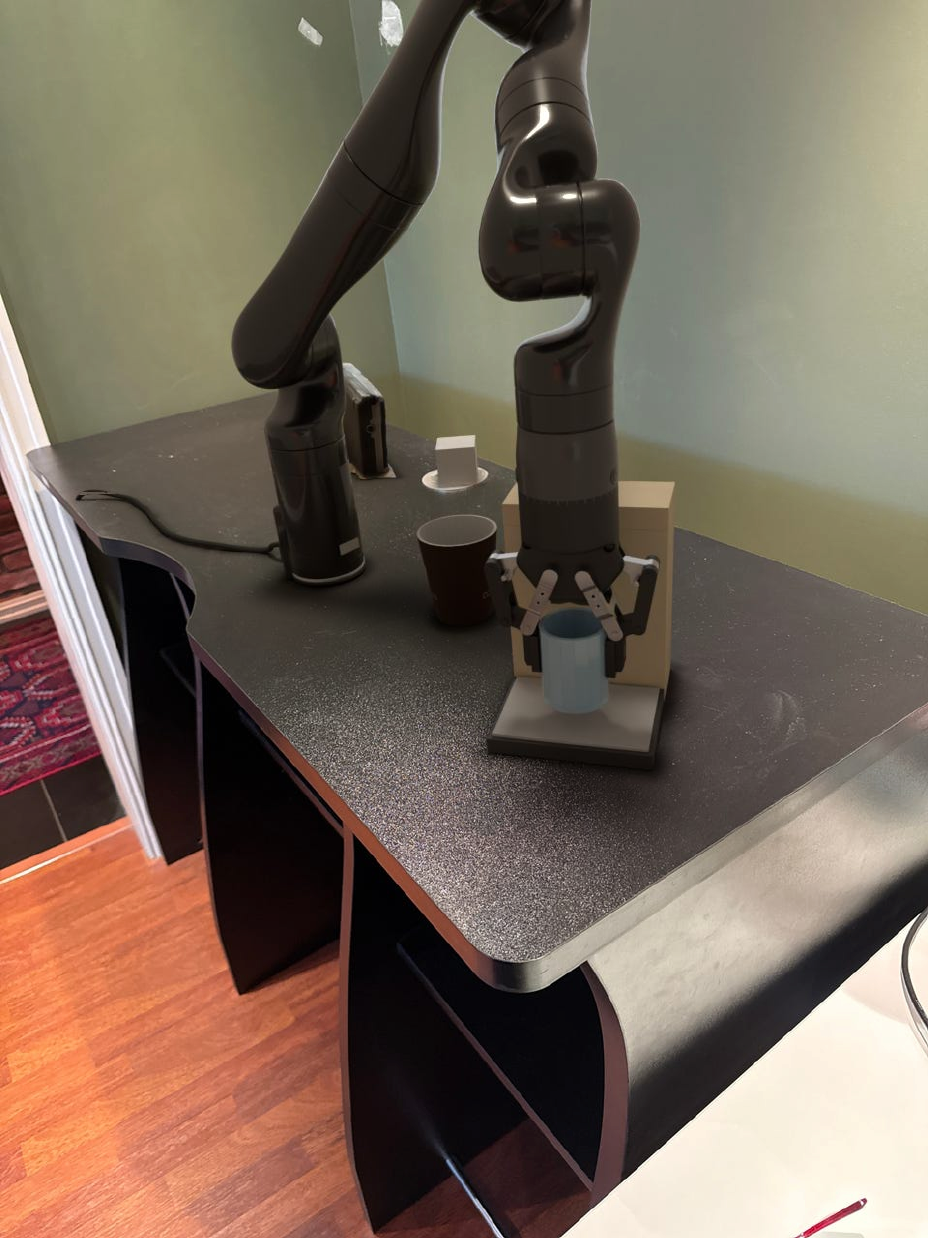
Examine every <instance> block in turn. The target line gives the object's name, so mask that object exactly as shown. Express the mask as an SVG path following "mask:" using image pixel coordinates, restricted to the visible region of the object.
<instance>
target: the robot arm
mask: <svg viewBox="0 0 928 1238" xmlns="http://www.w3.org/2000/svg"><path fill="white" fill-rule="evenodd" d="M592 5H593V0H419V3H418V4H417V7H416V9H415V11H414V13H413V15H412V17H411V19H410V21H409V23H408V26H407V27H406V30H405V32H404V34H403V35H402V37H401V40H400V42H399V43H398V46H397V47H396V50H395V52H394V53H393V56H392V57H391V59H390V61H389V63H388V64H387V66H386V68H385V70H384V71H383V74H382V75H381V77H380V79H379V80H378V82H377V83H376V85H375V87H374V89H373V91H372V93H371V94H370V96H369V98H368V100H367V101H366V103H365V105H364V106H363V108H362V109H361V111H360V113H359V114H358V116H357V118H356V119H355V121H354V123H353V124H352V126H351V128H350V130H349V131H348V132H347V134H346V136H345V138H344V139H343V141H342V143H341V145H340V147H339V148H338V150H337V152H336V154H335V155H334V157H333V159H332V161H331V163H330V164H329V166H328V168H327V170H326V172H325V174H324V175H323V178H322V180H321V182H320V184H319V186H318V188H317V189H316V191H315V194H314V195H313V197H312V199H311V201H310V203H309V204H308V206H307V207H306V209H305V211H304V213H303V214H302V216H301V218H300V220H299V221H298V224H297V226H296V227H295V229H294V231H293V234H292V235H291V237H290V239H289V241H288V243H287V245H286V247H285V248H284V250H283V252H282V253H281V255H280V257H279V258H278V260H277V261H276V263H275V265H274V266H273V268H272V269H271V270H270V271H269V273H268V274H267V276H266V277H265V278H264V280H263V281H262V282H261V284H260V286H259V287H258V288H257V290H256V291H255V292H254V294H253V295H252V296H251V298H250V299H249V300H248V302H247V303H246V304H245V306H244V307H243V308H242V310H241V312H240V313H239V315H238V316H237V318H236V320H235V322H234V324H233V327H232V328H233V329H232V333H231V339H230V340H231V341H230V349H231V356H232V359H233V363H234V366H235V368H236V370H237V371H238V373H239V375H240V376H241V377H242V378H243V380H245V381H246V383H249V384H250V385H252V386H254V387H256V388H259V389H263V390H268V391H269V390H277V394H276V398H275V401H274V404H273V406H272V407H271V410H270V411H269V412H268V414H267V415H266V417H265V419H264V421H263V433H264V434H263V435H264V439H265V444H266V449H267V453H268V454H267V455H268V458H269V463H270V469H271V473H272V478H273V483H274V488H275V493H276V494H275V495H276V498H277V504H275V505H274V507H273V508H272V514H273V515H272V516H273V519H274V524H275V528H276V534H277V539H278V541H273V542H270V543H269V544H268V546H263V547H256V546H255V547H253V546H243V545H237V544H230V543H226V542H225V543H223V542H217V541H210V540H205V539H204V540H203V539H198V538H197V539H196V538H192V537H187V536H184V535H180V534H178V533H175V532H173V531H171V530H170V529H169V528H167V527H166V526H164V524H163V523H162V522H160V520H159V519H157V517H156V516H155V515H154V514H153V512H152V511H151V509H150V508H149V507H148V506H147V505H145V504H144V503H143V502H141V501H140V500H138V499H137V498H135V497H134V496H131V495H128V494H123V493H118V492H115V493H116V494H99V496H106V497H110V498H115V499H119V500H120V499H121V500H125V501H128V502H132V503H133V504H135V505H136V506H137V507H138V508H140V509H141V510H143V512H144V513H145V514H146V515H147V517H148V518H149V520H150V521H151V522H152V523H153V524H154V525H155V526H156V527H157V529H159V530H160V531H161V532H162V533H164V534H165V535H166V536H168V537H170V538H172V539H174V540H176V541H180V542H183V543H185V544H190V545H195V546H201V547H208V548H215V549H222V550H228V551H233V552H242V553H255V554H256V553H257V554H266V553H267V554H268V553H271V552H273V550H274V549H275V548H278V551H279V555H280V559H281V562H282V563H283V567H284V572H285V578H286V579H289V580H294V581H295V582H296V583H298V584H301V585H305V586H310V587H311V586H313V587H325V586H331V585H336V584H337V585H338V584H341V583H344V582H347V581H350V580H353V579H354V578H356V577H357V576H359V575H360V574H362V573H363V572H364V571H365V569H366V566H367V564H366V557H365V554H364V548H363V544H362V543H363V541H362V538H361V537H362V536H361V530H360V523H359V517H358V511H357V510H358V509H357V503H356V499H355V492H354V485H353V478H352V472H350V465H349V459H348V453H347V447H346V440H345V434H344V427H343V419H344V414H345V410H346V391H345V382H344V372H343V363H344V362H343V355H342V348H341V341H340V336H339V332H338V328H337V326H336V322H335V320H334V317H333V316H332V314H331V312H332V311H333V309H334V307H336V305H337V304H338V302H340V301H341V299H342V298H343V297H344V296H345V295H346V294H347V293H348V292H349V291H350V290H351V289H352V288H354V286H356V285H357V284H358V283H359V282H360V281H361V280H362V279H364V277H365V276H367V275H368V274H369V273H370V272H371V271H372V270H373V269H374V268H375V267H376V266H377V265H378V264H379V263H380V262H381V261H382V260H383V259H385V257H386V256H388V254H389V253H390V252H391V251H392V250H393V249H394V248H395V247H396V245H397V244H398V243H399V242H400V240H402V238H403V237H404V235H405V234H406V233H407V231H408V230H409V228H410V227H411V226H412V224H413V223H414V221H415V220H416V218H417V217H418V215H419V213H420V212H421V210H422V209H423V208H424V206H425V204H426V202H427V201H428V200H429V198H430V197H431V195H432V193H433V192H434V189H435V187H436V185H437V182H438V178H439V175H440V169H441V159H442V128H443V127H442V125H443V124H442V119H443V118H442V113H443V112H442V109H443V107H442V105H443V89H444V81H445V73H446V67H447V63H448V60H449V56H450V52H451V50H452V48H453V45H454V42H455V40H456V38H457V35H458V33H459V31H460V29H461V27H462V25H463V24H464V22H465V20H466V18H467V17H468V16H469V15H471V16H472V17H473V18H474V19H475V20H477V21H478V22H479V23H480V24H482V25H483V26H485V27H486V28H487V29H489V30H490V31H491V32H493V33H494V34H495V35H496V36H498V37H499V38H501V40H503V41H504V42H506V43H507V44H509V45H512V46H513V47H516V48H518V49H520V50H521V52H522V53H523V54H521V55H520V56H519V57H517V58H516V59H515V61H514V62H513V63H512V64H511V65H510V66H509V67H508V69H507V70H506V72H505V74H504V75H503V77H502V78H501V81H500V83H499V86H498V88H497V91H496V95H495V99H494V100H495V101H494V106H493V129H494V141H495V143H494V144H495V153H496V172H495V176H494V179H493V182H492V185H491V187H490V189H489V192H488V196H487V199H486V201H485V204H484V206H483V207H484V208H483V212H482V215H481V219H480V224H479V229H478V237H477V256H478V257H477V258H478V259H477V260H478V265H479V270H480V272H481V275H482V277H483V279H484V282H485V283H486V285H487V286H488V287H489V288H490V290H491V291H492V292H493V293H494V294H496V295H497V296H498V298H499V297H500V298H501V299H502V300H504V301H507V302H513V303H527V302H539V301H549V300H557V299H568V298H570V299H571V298H579V297H580V296H581V297H584V302H583V303H582V304H583V305H582V306H581V308H580V310H579V312H578V313H577V315H576V316H575V317H574V318H573V319H572V320H571V321H570V322H568V323H566V324H564V325H562V326H559V327H557V328H555V329H551V330H549V331H545V332H542V333H539V334H535V335H533V336H531V337H528V338H527V339H525V340H523V341H522V342H520V343H519V344H518V346H517V347H516V349H515V351H514V354H513V364H512V365H513V383H514V385H513V386H514V399H515V401H514V402H515V415H516V441H515V442H516V443H515V469H514V471H515V472H514V473H515V474H514V475H515V482H517V484H518V499H519V514H520V530H521V548H520V550H519V552H514V553H506V554H505V552H504V551H502V549H496V550H495V551H493V553H492V554H491V555H490V557H489V559H488V560H487V562H486V564H485V566H484V572H485V575H486V579H487V582H488V586H489V590H490V593H491V597H492V601H493V609H494V611H495V615H496V619H497V623H498V624H499V626H500V627H502V628H505V629H506V628H511V626H512V627H514V628H517V629H518V630H520V631H521V633H522V636H523V650H524V661H525V663H526V665H527V666H531V667H532V672H535V673H541V662H540V645H539V629H538V624H539V622H540V617H541V615H542V612H543V610H544V608H545V606H546V604H547V601H548V600H549V601H550V602H551V604H563V603H569V602H570V603H574V604H577V605H586V606H589V605H590V607H591V609H592V611H593V613H594V615H595V617H596V618H597V619H598V620H600V622H601V624H602V626H603V628H604V630H605V632H606V633H607V635H608V636H607V638H606V677H607V678H616V674H617V672H622V670H623V668H624V665H625V661H626V637H627V636H629V635H632V634H634V635H638V636H640V635H643V634H644V633H645V631H646V627H647V623H648V618H649V614H650V609H651V604H652V600H653V595H654V590H655V586H656V581H657V576H658V572H659V567H660V559H659V558H658V557H657V556H655V555H649V556H647V557H646V559H640V558H635V557H630V556H626V555H625V552H624V550H623V549H622V547H621V545H620V542H619V486H618V481H619V445H618V438H617V437H618V436H617V432H616V424H615V382H614V381H615V380H614V379H615V356H616V346H617V338H618V334H619V333H618V332H619V327H620V323H621V319H622V313H623V309H624V306H625V301H626V298H627V293H628V290H629V287H630V283H631V279H632V276H633V273H634V270H635V265H636V262H637V258H638V253H639V247H640V243H641V234H642V233H641V232H642V231H641V230H642V226H641V225H642V224H641V217H640V211H639V208H638V205H637V202H636V200H635V198H634V195H632V193H631V192H630V190H629V189H628V188H627V187H626V185H624V184H623V183H622V182H621V181H619V180H616V179H613V178H596V177H597V173H598V167H599V152H598V151H599V150H598V143H597V138H596V132H595V126H594V120H593V115H592V109H591V103H590V98H589V92H588V82H587V80H588V79H587V68H588V56H589V55H588V54H589V45H590V35H591V21H592V20H591V19H592ZM82 492H105V493H107V492H110V491H108V490H103V489H94V488H93V489H86V490H83V491H82ZM79 494H80V493H78V494H77V495H76V497H75V501H81V500H82V499H83V498H84V497H85V496H88V495H89V494H87V495H79ZM516 567H519V569H520V570H521V571H522V572H523V574H524V575H525V576H526V577H527V579H528V580H529V581H530V582H531V583H532V585H533V586H534V587H535V588H536V591H535V593H534V595H533V598H532V600H531V602H530V604H529V607H528V609H524V608H522V607H519V605H518V601H517V597H516V594H515V590H514V586H513V582H512V578H513V576H514V574H515V572H516V569H515V568H516ZM622 571H624V572H626V573H627V574H628V575H629V578H630V584H631V585H632V586H634V587H636V588H638V592H637V597H636V602H635V607H634V612H632V613H628V614H625V615H624V613H623V611H622V609H621V607H620V605H619V603H618V600H617V595H616V592H615V590H614V588H613V586H612V583H613V582H614V581H615V580H616V578H617V577H618V576H619V575H620V574H621V572H622Z"/></svg>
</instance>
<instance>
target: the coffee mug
mask: <svg viewBox="0 0 928 1238" xmlns="http://www.w3.org/2000/svg"><path fill="white" fill-rule="evenodd" d="M497 529H498V527H497V523H496V522H495V521H494V520H492V519H491V518H489V517H486V516H483V515H478V514H453V515H445V516H441V517H437V518H435V519H434V518H433V519H432V520H429V521H427V522H426V523H423V524H422V525H421V526H420V527H419V528H418V529H417V531H416V538H417V541H418V546H419V550H420V554H421V558H422V563H423V565H424V570H425V573H426V578H427V582H428V586H429V589H430V594H431V598H432V602H433V605H434V606H433V607H434V610H435V614H436V617H437V619H438V620H439V621H440V622H442V623H444V624H446V625H450V626H457V627H458V626H460V627H461V626H462V627H463V626H471V625H476V624H479V623H481V622H484V621H486V620H487V619H489V618H490V617H491V616H492V614H493V612H494V604H493V601H492V597H491V593H490V590H489V586H488V582H487V579H486V575H485V572H484V566H485V564H486V562H487V560H488V559H489V557H490V555H491V554H492V553H493V551H495V550H497V533H498V532H497V531H498V530H497Z"/></svg>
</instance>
